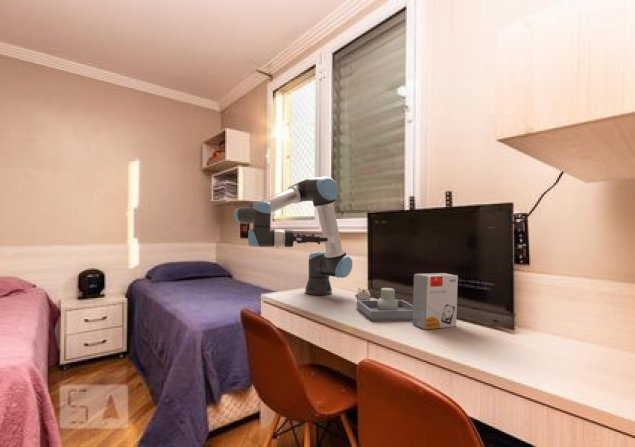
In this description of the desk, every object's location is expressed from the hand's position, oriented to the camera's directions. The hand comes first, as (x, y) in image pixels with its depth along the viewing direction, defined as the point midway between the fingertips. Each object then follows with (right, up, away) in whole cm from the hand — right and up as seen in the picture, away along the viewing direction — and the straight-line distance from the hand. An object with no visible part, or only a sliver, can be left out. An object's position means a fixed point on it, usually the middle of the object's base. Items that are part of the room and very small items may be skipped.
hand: (331, 239), depth 153 cm
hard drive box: (+39, -33, -21) cm, 55 cm away
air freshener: (+24, -32, -5) cm, 40 cm away
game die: (+16, -33, +13) cm, 39 cm away
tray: (+24, -32, -5) cm, 41 cm away
